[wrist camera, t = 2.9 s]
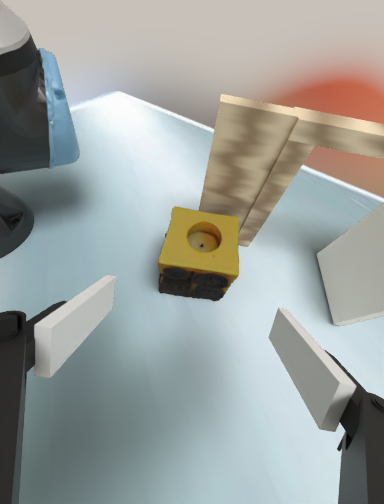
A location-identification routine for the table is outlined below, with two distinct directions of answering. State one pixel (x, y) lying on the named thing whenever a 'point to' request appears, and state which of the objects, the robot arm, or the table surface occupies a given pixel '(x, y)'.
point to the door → (356, 271)
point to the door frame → (271, 155)
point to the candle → (199, 254)
